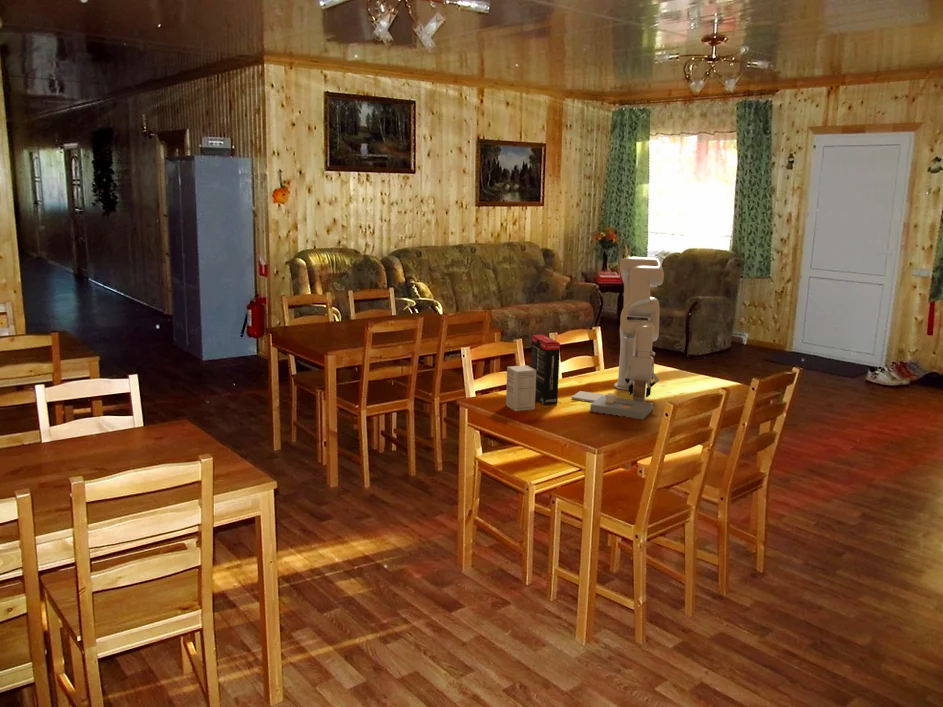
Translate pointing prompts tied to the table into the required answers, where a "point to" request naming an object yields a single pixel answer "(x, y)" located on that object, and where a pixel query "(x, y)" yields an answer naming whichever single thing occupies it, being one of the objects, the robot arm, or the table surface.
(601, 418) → the table surface
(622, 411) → the switch board
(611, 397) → the switch tab
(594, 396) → the mat
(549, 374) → the graphics card box
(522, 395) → the supplement box
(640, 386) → the block
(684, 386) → the table surface
